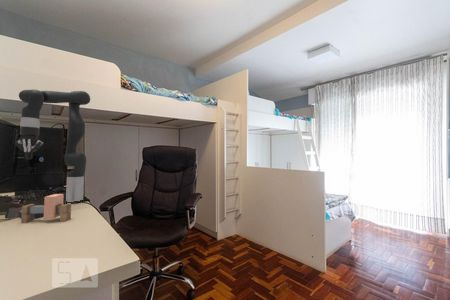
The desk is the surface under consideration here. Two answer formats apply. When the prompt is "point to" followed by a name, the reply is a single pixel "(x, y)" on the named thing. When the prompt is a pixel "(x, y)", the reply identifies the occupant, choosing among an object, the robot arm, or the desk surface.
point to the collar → (52, 205)
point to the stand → (64, 213)
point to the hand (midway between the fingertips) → (28, 159)
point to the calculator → (37, 215)
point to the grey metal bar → (41, 209)
